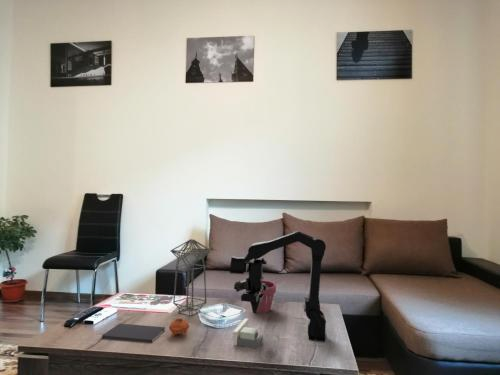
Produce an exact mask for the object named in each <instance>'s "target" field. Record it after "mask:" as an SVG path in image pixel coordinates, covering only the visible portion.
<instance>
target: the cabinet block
mask: <svg viewBox="0 0 500 375" xmlns="http://www.w3.org/2000/svg"><path fill="white" fill-rule="evenodd" d="M258 332H259V331H258V328H254V327H244V328H243V329H242V330H241V331H240V338H243V339H250V340H257V339H258V338H259V333H258Z"/></svg>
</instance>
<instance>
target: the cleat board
mask: <svg viewBox="0 0 500 375" xmlns="http://www.w3.org/2000/svg"><path fill="white" fill-rule="evenodd" d="M249 322H250V321H249V318H246V317H245V318H244V319H243V320H242V321H241V323H239V324H238V325H237V327H236V328H235V329H234V330H233V331H232V333H233V334H232V339H233V340H232V344H233V345H232V346H238V347H243V348H245V347H246V348H252V349H256V350H257V349H259V348H260V347H261V345H262V344H263V342H264V337H263V336H264V335H261V334H260V335H258V339H257V340H250V339H243V338H240V331H241V330H242V329H243V328H244V327H249V324H250V323H249ZM249 328H250V327H249Z"/></svg>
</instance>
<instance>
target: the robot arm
mask: <svg viewBox="0 0 500 375" xmlns="http://www.w3.org/2000/svg"><path fill="white" fill-rule="evenodd" d="M298 242H299V243H300V244H303V246H305V247H308V248H309V249H310V256H311V257H310V258H311V262H310V263H311V265H310V267H311V268H310V279H309V289H308V290H309V291H308V296H306V297H305V296H304V298H303V299H304V300H303V301H304V304H303V311H304V313H305V316H306V317H307V319H308V320H309V322H308V324H307V336H308V340H312V341H319V342H326V339H327V330H326V328H327V320H326V317H325V314H324V312H323V311H322V310H321V304H320V297H319V295H320V286H321V285H320V284H321V271H322V261H323V258H324V256H325V252H326V247H327V246H326V242H325V241H324V240H323V239H322V238H321V237H315V236H314V237H313V236H311V235H309V234H306V233H304V232H302V231H300V230H296V231H294V232H292V233H288V234H285V235H283V236H280V237H277V238H274V239H272V240H269V241H260V242H254V243H252V244H250V246H249V247H248V251H247V254H245V256H244V257H236V256H231V258H230V265H229V273H230V274H231V275H232V274H233V275H245V273H248V274H247V277H246V278H245V279H244V280H239V281H235V282H234V284H233V286H234V287H233V290H235V291H236V293H238V292H240V291H244V290H245V292H243V293H242V294H240V301H242V302H247V303H250V306H251V310H252V313H253V314H257V310H258V307H259V305H260V303H261V300H262V298H263V296H264V294H261V291H262V290H263V289H264V290H265V291H267V290H268V285H267V284H266V283H262V281H264V275H263V265H267V264H268V260H266V259H265V258H264V256H265V255H267V254H268V253H269V252H271V251H275V250H277V249H280V248H283V247H286V246H289V245H292V244H294V243H295V244H296V243H298ZM249 291H250V292H249Z"/></svg>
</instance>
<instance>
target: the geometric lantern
mask: <svg viewBox="0 0 500 375" xmlns="http://www.w3.org/2000/svg"><path fill="white" fill-rule="evenodd" d="M188 246H189V247H188ZM180 247H181V248H180ZM202 247H203V248H205V249H203V248H202ZM178 248H180V249H178ZM177 249H178V250H177ZM192 250H193V253H191V252H192ZM212 251H213V250H212V249H210V248H208V247H207V246H205V245H204V244H203V243H201V242H199V241H197V240H196V239H194V238H193V239H191V238H190V239H188V240H187V241H185V242H184V243H182V244H179V245H178V246H176V247H174V248H173V249H171V250H170V252H171V253H172V254H173V255H174V257H175V258H177V260H176V265H175V275H174V276H175V277H174V278H175V279H174V289H173V290H174V291H173V305H175V306H176V308H178V314H182V315H184V316H189V317H191V316H194V315H196V314H199V313H198V312H199V310H200V309H201V310H202V307H204V306H205V305H206V304H207V290H206V289H207V287H206V286H207V285H206V284H207V282H206V277H207V276H206V275H207V274H206V267H207V266H206V265H205V257H207V255H209V254H210V253H211V252H212ZM196 254H197V255H196ZM190 255H193V256H194V257H195V258H196V259H195V260H194V261H193V263H190V262H189V260H188V259H187V257H188V256H190ZM180 260H183V263H184V264H182V265H179V263H180ZM185 260H186V261H185ZM199 260H201V261H202V264H197V261H199ZM186 262H187V263H188V264H187V263H186ZM184 266H185V268H184ZM194 266H198V267H196V268H194ZM179 269H182V270H187V275H186V276H187V277H186V278H187V279H186V297H184V298H180V299H178V300H176V291H177V290H176V289H177V280H178V272H179V271H178V270H179ZM199 269H203V280H204V282H203V283H204V285H203V286H204V299H201V298H197V297H194V275H195V274H194V273H195V272H194V270H199ZM190 276H191V296H190V297H189V290H190V289H189V288H190ZM189 299H191V300H190V303H189ZM184 300H186V302H185V303H186V304H180V303H177V302H180V301H184ZM194 300H197V301H201V302H202V303H201V302H200V303H198V304H194ZM194 307H197V308H194ZM183 311H188V312H189V313H188V314H186V313H183ZM193 311H196V312H195V313H191V312H193Z"/></svg>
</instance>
